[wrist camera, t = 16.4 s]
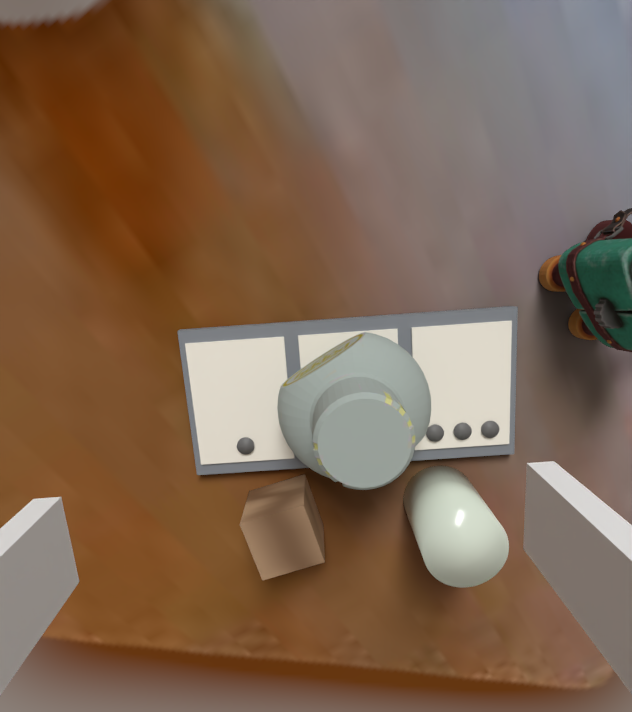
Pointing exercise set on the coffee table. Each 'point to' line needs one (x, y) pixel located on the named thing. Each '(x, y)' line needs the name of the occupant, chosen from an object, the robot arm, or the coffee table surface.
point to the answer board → (315, 337)
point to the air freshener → (356, 411)
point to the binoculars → (597, 282)
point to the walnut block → (283, 527)
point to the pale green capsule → (454, 527)
